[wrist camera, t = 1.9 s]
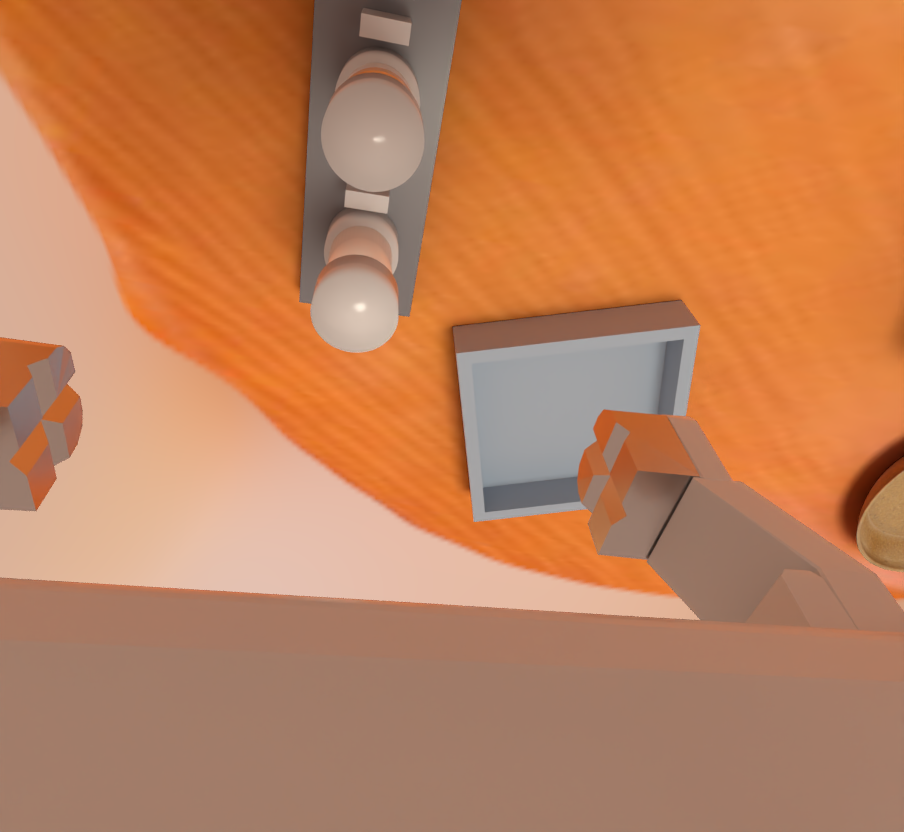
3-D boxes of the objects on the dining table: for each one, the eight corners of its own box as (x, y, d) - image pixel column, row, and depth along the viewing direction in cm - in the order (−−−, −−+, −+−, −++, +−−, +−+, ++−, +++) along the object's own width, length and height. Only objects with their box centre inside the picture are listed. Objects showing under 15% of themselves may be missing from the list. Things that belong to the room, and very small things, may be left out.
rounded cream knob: (320, 209, 32) (301, 280, 26) (392, 200, 32) (391, 270, 26) (335, 275, 34) (321, 356, 28) (403, 268, 34) (404, 347, 28)
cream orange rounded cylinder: (330, 51, 28) (310, 90, 22) (413, 41, 28) (417, 77, 22) (346, 139, 30) (332, 197, 24) (423, 130, 30) (430, 185, 24)
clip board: (331, -264, 23) (322, -289, 20) (493, -219, 24) (506, -237, 21) (302, 289, 36) (294, 320, 33) (409, 304, 37) (409, 334, 34)
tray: (452, 326, 38) (456, 353, 36) (681, 300, 38) (700, 325, 36) (470, 491, 47) (474, 521, 44) (658, 469, 46) (672, 499, 44)
